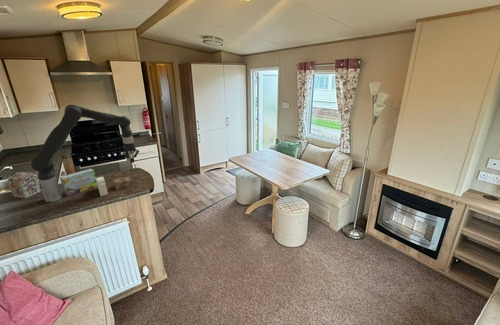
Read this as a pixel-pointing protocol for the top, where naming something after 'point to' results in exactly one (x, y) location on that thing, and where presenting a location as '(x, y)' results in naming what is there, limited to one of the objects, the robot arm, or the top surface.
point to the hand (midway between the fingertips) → (132, 162)
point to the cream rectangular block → (102, 186)
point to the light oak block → (122, 183)
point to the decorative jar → (24, 184)
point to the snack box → (78, 182)
